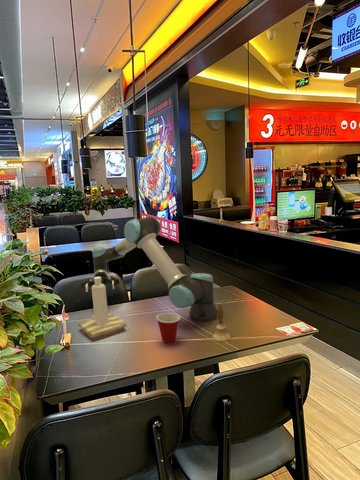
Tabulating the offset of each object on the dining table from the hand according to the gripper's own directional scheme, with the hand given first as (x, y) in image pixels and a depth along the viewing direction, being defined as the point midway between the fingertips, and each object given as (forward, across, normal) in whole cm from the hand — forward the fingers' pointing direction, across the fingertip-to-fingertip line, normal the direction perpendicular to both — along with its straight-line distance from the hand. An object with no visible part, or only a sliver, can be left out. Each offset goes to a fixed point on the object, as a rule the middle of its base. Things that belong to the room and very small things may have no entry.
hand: (99, 287), depth 186 cm
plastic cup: (+32, -30, -20) cm, 48 cm away
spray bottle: (+10, 0, -16) cm, 18 cm away
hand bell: (+36, -54, -20) cm, 67 cm away
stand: (+10, 0, -19) cm, 22 cm away
